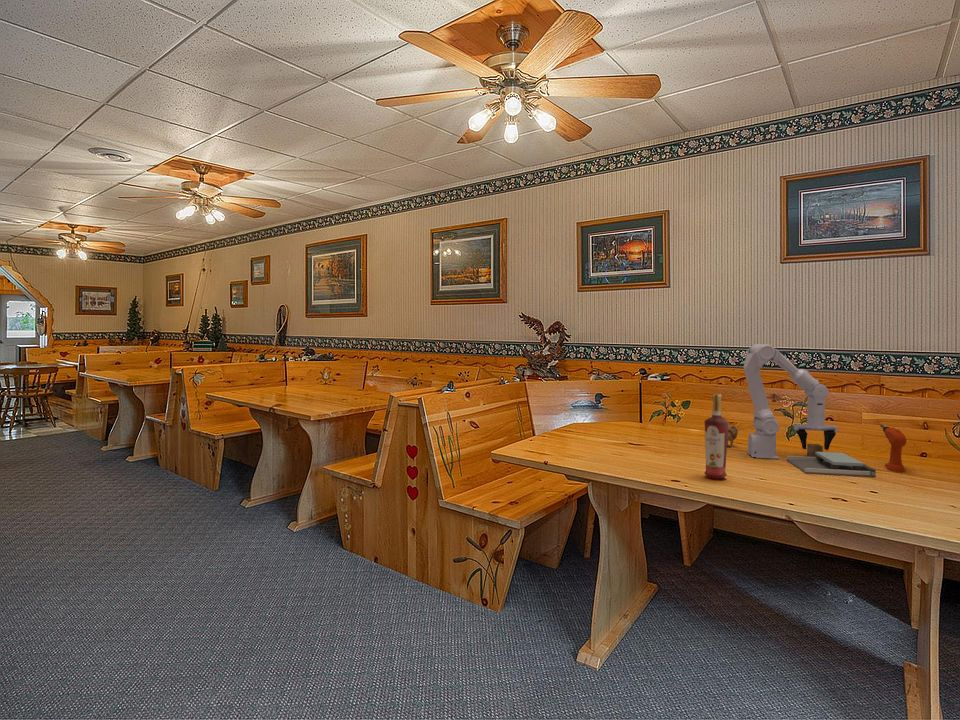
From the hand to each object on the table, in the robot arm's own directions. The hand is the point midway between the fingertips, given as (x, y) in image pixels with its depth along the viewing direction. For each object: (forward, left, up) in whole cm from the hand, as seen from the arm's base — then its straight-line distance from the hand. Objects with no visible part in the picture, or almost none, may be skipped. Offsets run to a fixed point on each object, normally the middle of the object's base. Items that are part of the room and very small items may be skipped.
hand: (815, 449), depth 202 cm
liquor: (-43, -39, -4) cm, 58 cm away
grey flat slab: (+1, -17, -3) cm, 17 cm away
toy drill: (+21, -9, -4) cm, 23 cm away
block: (0, 0, -3) cm, 3 cm away
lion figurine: (-30, +13, -4) cm, 33 cm away
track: (-2, -17, -3) cm, 17 cm away
